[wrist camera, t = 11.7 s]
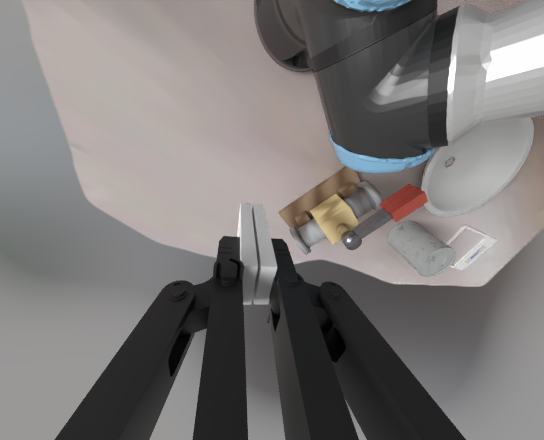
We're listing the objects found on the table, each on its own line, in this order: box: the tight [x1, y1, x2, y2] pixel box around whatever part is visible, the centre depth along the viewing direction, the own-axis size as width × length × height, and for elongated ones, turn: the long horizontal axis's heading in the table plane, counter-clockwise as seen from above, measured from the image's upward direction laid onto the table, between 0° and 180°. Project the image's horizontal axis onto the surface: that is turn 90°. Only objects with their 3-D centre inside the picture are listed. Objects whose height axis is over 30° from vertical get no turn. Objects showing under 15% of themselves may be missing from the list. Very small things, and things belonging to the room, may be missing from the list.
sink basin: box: [421, 117, 534, 217], centre depth 46 cm, size 24×24×7 cm
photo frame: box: [445, 225, 497, 271], centre depth 67 cm, size 15×1×18 cm
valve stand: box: [279, 166, 383, 254], centre depth 45 cm, size 20×11×13 cm, turn 125°
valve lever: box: [341, 184, 428, 250], centre depth 37 cm, size 3×16×4 cm, turn 129°
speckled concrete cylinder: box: [387, 221, 456, 277], centre depth 54 cm, size 10×10×12 cm
